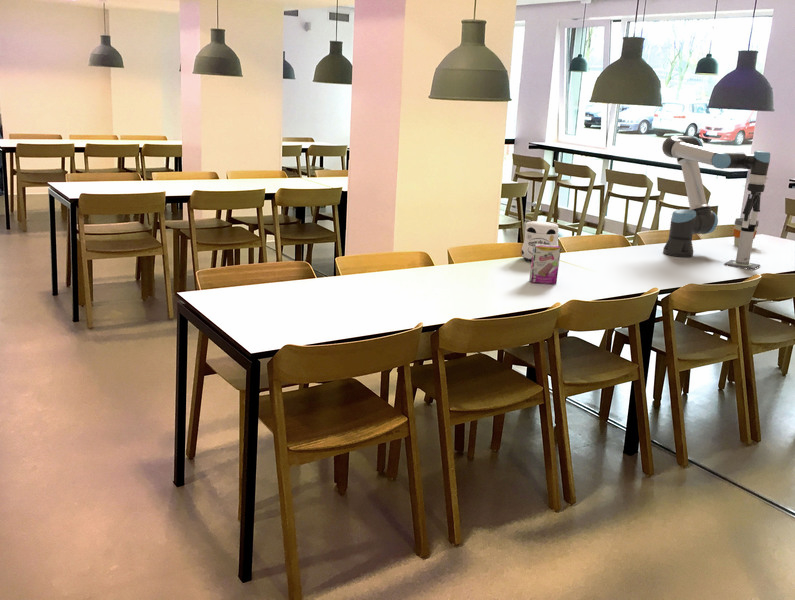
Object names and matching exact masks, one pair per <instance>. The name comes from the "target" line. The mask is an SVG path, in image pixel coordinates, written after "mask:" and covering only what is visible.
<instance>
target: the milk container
mask: <svg viewBox="0 0 795 600" xmlns="http://www.w3.org/2000/svg"><path fill="white" fill-rule="evenodd" d="M558 236H559V225H558V224H557V223H554V222H549V221H539V220H538V221H537V220H534V221H533V220H532V221H527V222H526V224H525V231H524V241H523V244H522V247H521V256H522V258H523V259H524V260H527V261H530V262H531V261H532V252H533V244H543V245H558Z"/></svg>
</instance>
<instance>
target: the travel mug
mask: <svg viewBox="0 0 795 600" xmlns="http://www.w3.org/2000/svg"><path fill="white" fill-rule="evenodd" d="M755 227H756V225H748V228H744V227H741V232H740V238H739V244H738V246H737V251H736V256H735V257H736V258H735V260H736V263H737V264H743V265H748V264H749V263H750V260H751V255H752V249H753V248H752V247H753V243H754V239H753V237H754V232H755Z"/></svg>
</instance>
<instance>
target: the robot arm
mask: <svg viewBox="0 0 795 600" xmlns="http://www.w3.org/2000/svg"><path fill="white" fill-rule="evenodd" d="M661 149H662V152H663V154H664V155H665V156H666V157H668V158H671V159H672V158H673V159H676V161H677V164H678V165H680V166H681V171H682V176H683V181H684V185H685V190H686V191H685V192H686V195H687V200H688V201H687V202H688V204H689V209H687V208H686V209H683V208H682V209H681V208H680V209H676V210H674V211H673V212H672V214H671V218H670V227H669V233H668V239H667V241H666V243H665V245H664V247H663V251H662V253H663V254H665V255H667V254H668V255H669V256H672V255H673V256H672V257H679V258H690V257H691V258H692V257H693V256H694V248H693V247H694V246H693V236H694V235H706V234H711V233H712V232H714V231H715V230H716V228H717V226H718V222H719V219H718V215H717V214H716V213H715V212H714V211H712V208H711V206H710V205H709V204H707V199H706V194H705V193H706V192H705V189H704V184H703V179H702V174H701V169H700V164H699V163H702V164H706V165H710V166H713V167H714V168H716V169H721V170H723V169H734V170H735V169H737V170H738V169H744V170H750V173H749V178H748V185H747V188H746V189H747V190H746V191H748V192H750V193H748V194H747V195H748V196H747V199H746V202H745V206H744V209H743V211H742V215H743V223H742V227H744V228H748V225H749V219H750V224H752V225H756V220H757V218H758V213H760V212H761V195H762V193H764V192H765V186H766V185H765V184H766V181H767V180H768V179H769V178H768V177H767V176H768V170H769V166H770V163H771V152H769V151H762V150H756V151H754V152H753V153H752V154H751V153H746V152H724V151H720V150H717V149H716V150H715V149H712V148H707V147H704V146H703V142H702V141H701V139H699V138H698V137H697V136H693V135H671V136H669V137H666V138H665V140H664V141H663V142H662V147H661ZM757 221H758V220H757Z"/></svg>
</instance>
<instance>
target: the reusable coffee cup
mask: <svg viewBox="0 0 795 600" xmlns="http://www.w3.org/2000/svg"><path fill="white" fill-rule="evenodd" d="M743 218H744V217H743ZM743 218H741V217H739V218H738V217H737V218H735V221H734V227H733V239H734V242H733V245H734V246H735V245H736V246H735V247H738V244H739V238H740V232H741V227H742V223H743ZM750 219H751V218H750ZM750 219H749V225H752V224H750ZM758 227H759V220H756V227H755V232H754V237H753V240H755V238H756V234H757V233H758V232H757V230H758Z"/></svg>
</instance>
